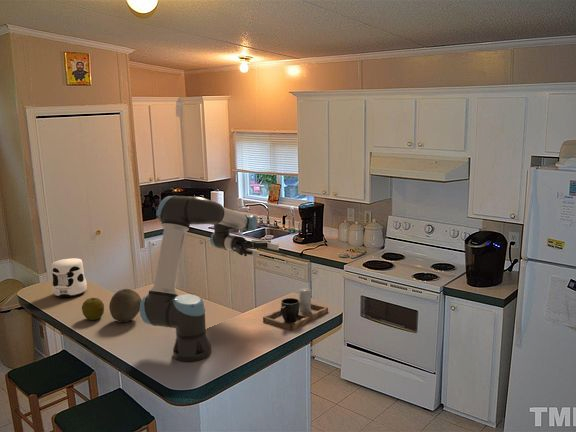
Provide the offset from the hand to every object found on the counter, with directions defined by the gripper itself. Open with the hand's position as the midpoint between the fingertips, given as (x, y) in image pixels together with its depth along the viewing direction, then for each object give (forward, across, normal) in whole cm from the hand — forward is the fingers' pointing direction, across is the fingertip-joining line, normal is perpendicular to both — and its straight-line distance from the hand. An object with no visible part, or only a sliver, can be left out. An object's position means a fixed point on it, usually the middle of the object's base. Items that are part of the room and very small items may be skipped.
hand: (268, 250), depth 241 cm
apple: (-66, +53, -32) cm, 90 cm away
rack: (+10, -7, -32) cm, 34 cm away
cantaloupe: (-51, +44, -32) cm, 75 cm away
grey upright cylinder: (+10, -14, -32) cm, 36 cm away
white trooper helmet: (-109, +42, -32) cm, 121 cm away
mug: (+11, 0, -32) cm, 34 cm away
